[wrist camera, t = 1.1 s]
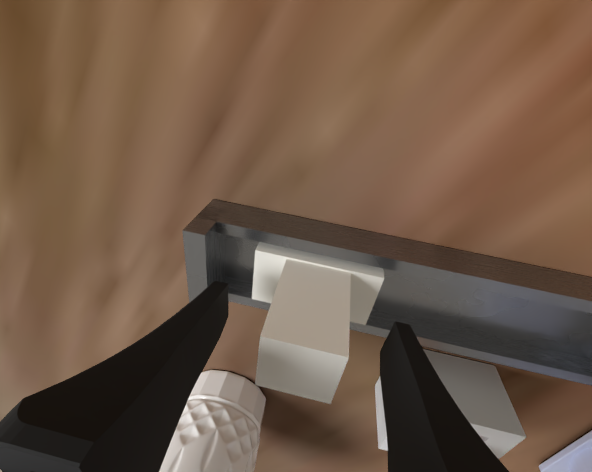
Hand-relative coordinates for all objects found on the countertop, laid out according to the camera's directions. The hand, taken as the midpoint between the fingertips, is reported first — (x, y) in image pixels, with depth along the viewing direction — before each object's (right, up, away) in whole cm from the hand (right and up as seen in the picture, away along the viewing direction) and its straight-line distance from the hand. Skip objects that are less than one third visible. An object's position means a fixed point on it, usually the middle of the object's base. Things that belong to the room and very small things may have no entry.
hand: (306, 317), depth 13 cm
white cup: (-6, -10, +13) cm, 17 cm away
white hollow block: (+9, -6, +7) cm, 12 cm away
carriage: (+1, +2, +3) cm, 3 cm away
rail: (+6, +1, +3) cm, 7 cm away
